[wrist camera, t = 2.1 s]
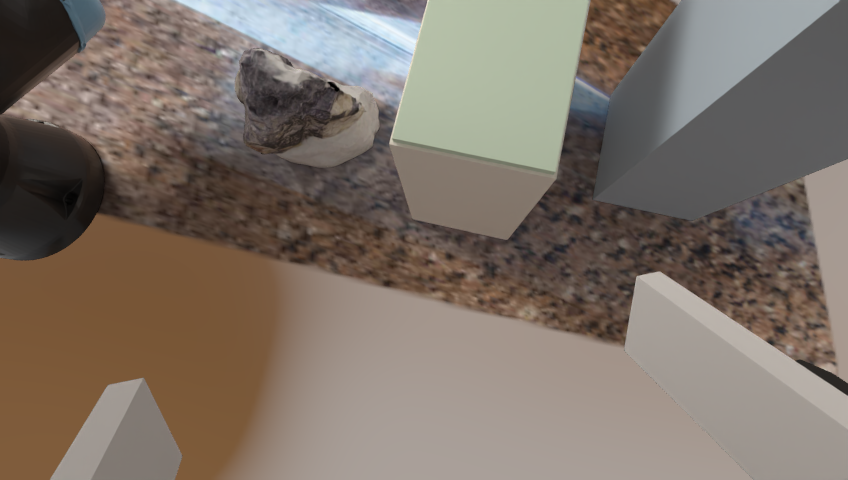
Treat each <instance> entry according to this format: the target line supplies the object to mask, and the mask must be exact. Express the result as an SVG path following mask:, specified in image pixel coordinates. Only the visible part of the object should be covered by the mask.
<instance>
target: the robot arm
mask: <svg viewBox="0 0 848 480" xmlns="http://www.w3.org/2000/svg"><path fill="white" fill-rule="evenodd" d="M104 23H105V11H104V8H103V6H102V4H101V2H100V1H99V0H0V258H6V259H13V260H35V259H40V258H44V257H48V256H50V255H53V254H55V253H57V252H59V251H61V250H62V249H64V248H66V247H67V246H69V245H70V244H71V243H73V242H74V241H75V240H76V239H77V238H79V236H81V235H82V233H83V232H84V231H85V230H86V229H87V227H88V226H89V225H90V223H91V222H92V220H93V219H94V217H95V215H96V213H97V211H98V209H99V206H100V203H101V200H102V196H103V190H104V173H103V168H102V164H101V161H100V159H99V157H98V155H97V153H96V152H95V150H94V149H93V147H92V146H91V145H90V144H89V143H88V142H87V141H86V140H85V139H83V138H82V137H80V136H79V135H77V134H75V133H73V132H71V131H69V130H67V129H65V128H63V127H61V126H59V125H56V124H53V123H50V122H46V121H41V120H35V119H22V118H17V117H12V116H8V115H4V114H2V113H4V112H5V111H6V110H7V109H8V108H10V107H11V106H12V105H13V104H14V103H15V102H17V101H18V100H19V99H20V98H22V97H23V96H24V95H25V94H27V93H28V92H29V91H30V90H32V89H33V88H34V87H35V86H37V85H38V84H39V83H40V82H42V81H43V80H44V79H45V78H47V77H48V76H49V75H50V74H52V73H53V72H54V71H55V70H57V69H58V68H59V67H60V66H61V65H63V64H64V63H65V62H66V61H68V60H69V59H70V58H71V57H73V56H74V55H75V54H76V53H80V52H81V51H83V50H84V48H85V46H86V43H87V42H88V41H89V40H90V39H91V38H92V37H93V36H94V35H95V34H96V33H97V32H98V31H99V30H100V29H101V28H102V27H103V25H104ZM624 351H625V352H626V353H627V354H628V355H629V356H630V357H631V358H632V359H633V360H634V361H635V362H636V363H637V364H638V365H639V366H640V367H641V368H642V369H643V370H644V371H645V372H646V373H647V374H648V375H649V376H650V377H651V378H652V379H653V380H654V381H655V382H656V383H657V384H658V385H659V386H660V387H661V388H662V389H663V390H664V391H665V392H666V393H667V394H668V395H669V396H670V397H671V398H672V399H673V400H674V401H675V402H676V403H677V404H678V405H679V406H680V407H681V408H682V409H683V410H684V411H685V412H686V413H687V414H688V415H689V416H690V417H691V418H692V419H693V420H694V421H695V422H696V423H697V424H698V425H699V426H700V427H701V428H702V429H703V430H704V431H705V432H706V433H707V434H708V435H709V436H710V437H711V438H712V439H713V440H714V441H715V442H716V443H717V444H718V445H719V446H720V447H721V448H722V449H723V450H724V451H725V452H726V453H727V454H728V455H729V456H730V457H731V458H732V459H733V460H734V461H735V462H736V463H737V464H738V465H739V466H740V467H741V468H742V469H743V470H744V471H745V472H746V473H747V474H748V475H749V476H750V477H751V478H752V479H753V480H848V383H846V382H845V381H843V380H842V379H840V378H839V377H837V376H836V375H834V374H832V373H831V372H828V371H826V370H824V369H821V368H819V367H817V366H814V365H812V364H810V363H807V362H805V361H803V360H796V361H794V360H793V359H791V358H790V357H788V356H787V355H785V354H784V353H782V352H781V351H779V350H778V349H776V348H775V347H773V346H772V345H770V344H769V343H767V342H766V341H764V340H763V339H761V338H760V337H758V336H757V335H755V334H753V333H752V332H750V331H749V330H747V329H746V328H744V327H743V326H741V325H740V324H738V323H737V322H735V321H734V320H732V319H731V318H729V317H728V316H726V315H725V314H723V313H722V312H720V311H719V310H717V309H716V308H714V307H713V306H711V305H710V304H708V303H707V302H705V301H704V300H702V299H701V298H699V297H698V296H696V295H695V294H693V293H692V292H690V291H689V290H687V289H686V288H684V287H683V286H681V285H680V284H678V283H676V282H675V281H673V280H672V279H670V278H669V277H667V276H666V275H664V274H663V273H661V272H660V271H659V272H654V273H649V274H645V275H640V276H636V282H635V288H634V294H633V300H632V306H631V312H630V318H629V323H628V329H627V335H626V341H625V347H624ZM181 459H182V454H181V452H180V451H179V448H178V446H177V444H176V442H175V440H174V438H173V436H172V434H171V432H170V430H169V428H168V426H167V424H166V422H165V420H164V418H163V416H162V414H161V412H160V410H159V408H158V406H157V404H156V402H155V400H154V398H153V396H152V394H151V391H150V389H149V387H148V385H147V384H146V381H145V379H144V378H140V379H135V380H130V381H126V382H120V383H116V384H111V385H108V386H107V387H106V389H105V391H104V393H103V394H102V396H101V397H100V399H99V401H98V402H97V404H96V405H95V407H94V409H93V410H92V412H91V414H90V415H89V417H88V418H87V420H86V422H85V423H84V425H83V427H82V428H81V430H80V432H79V433H78V435H77V436H76V438H75V440H74V441H73V443H72V445H71V446H70V448H69V450H68V451H67V453H66V454H65V456H64V458H63V459H62V461H61V463H60V464H59V466H58V468H57V469H56V471H55V472H54V474H53V476H52V477H51V479H50V480H175V477H176V474H177V471H178V468H179V465H180V461H181Z"/></svg>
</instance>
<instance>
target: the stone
mask: <svg viewBox="0 0 848 480" xmlns="http://www.w3.org/2000/svg"><path fill="white" fill-rule="evenodd" d="M239 64H240V70H239V71H238V73H237V76H236V80H235V92H236V94H237V97H238V99H239V100H240V102H241V103H243V104H244V105H245V129H244V143H245V144H246V146H248V147H250V148H252V149H254V150H256V151H258V152H261V154H270V153H271V154H273V153H274V154H275V155H277V156H279V157H281V158H282V159H286V160H288V161H289V162H293V163H297V164H305V165H309V166H313V167H319V168H324V167H325V168H329V167H334V166H337V165H340V164H342V163H344V162H346V161H348V160H351V159H353V158H354V157H357V156H359V155H360V154H362V153H364V152H366V151H367V150H368V149H370V148H371V147H372V146H373V141H374V137H375V134H376V133H377V131H378V129H379V128H380V124H379V119H378V115H379V108H377V105H376V102H375V100H374V98H373V94H372V93H371V92H369V91H366V90H365V89H364V88H361V87H359V86H342V85H340V84H338V83H336V82H334V81H331V80H328V79H324V78H321V77H319V76H317V75H314V74H312V73H311V72H308V71H306V70H301V69H295V68H294V67H293V66H292V64H291V62H289V61H288V59H286V58H284V57H282V56H280V55H278V54H275V53H272V52H270V51H268V50H264V49H261V48H253V49H250V50H247V51H244V52H243V55H242V57H241V59H240V60H239Z"/></svg>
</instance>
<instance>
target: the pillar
mask: <svg viewBox="0 0 848 480" xmlns="http://www.w3.org/2000/svg"><path fill="white" fill-rule="evenodd" d="M846 159H848V0H681V2H680V3H679V4H678V6H677V7H676V8H675V10H674V11H673V12H672V14H671V15H670V16H669V18H668V19H667V20H666V22H665V23H664V24H663V26H662V27H661V28H660V30H659V31H658V32H657V34H656V35H655V37H654V38H653V39H652V41H651V42H650V43H649V45H648V46H647V47H646V49H645V50H644V51H643V53H642V54H641V55H640V57H639V58H638V59H637V61H636V62H635V63H634V65H633V66H632V67H631V69H630V70H629V71H628V73H627V74H626V75H625V77H624V78H623V79H622V81H621V82H620V83H619V85H618V86H617V87H616V89H615V90H614V92H613V93H612V94H611V96H610V102H609V108H608V114H607V119H606V125H605V131H604V137H603V142H602V148H601V154H600V160H599V165H598V171H597V177H596V183H595V188H594V194H593V200H596V201H600V202H605V203H610V204H615V205H619V206H624V207H629V208H634V209H638V210H643V211H648V212H653V213H657V214H662V215H667V216H672V217H676V218H681V219H686V220H691V221H693V220H695V219H698V218H701V217H703V216H706V215H708V214H711V213H713V212H716V211H718V210H721V209H723V208H726V207H728V206H731V205H733V204H736V203H738V202H741V201H743V200H746V199H748V198H751V197H753V196H756V195H758V194H761V193H763V192H766V191H768V190H771V189H773V188H776V187H778V186H781V185H783V184H786V183H789V182H791V181H794V180H796V179H799V178H801V177H804V176H806V175H809V174H811V173H814V172H816V171H819V170H821V169H823V168H826V167H829V166H831V165H834V164H836V163H839V162H841V161H844V160H846Z"/></svg>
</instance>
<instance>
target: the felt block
mask: <svg viewBox="0 0 848 480" xmlns="http://www.w3.org/2000/svg"><path fill="white" fill-rule="evenodd" d="M589 5H590V0H428V1H427V5H426V9H425V12H424V16H423V20H422V23H421V27H420V31H419V35H418V38H417V42H416V46H415V49H414V53H413V57H412V61H411V64H410V68H409V72H408V76H407V79H406V83H405V87H404V90H403V94H402V98H401V102H400V105H399V109H398V113H397V116H396V120H395V124H394V128H393V131H392V135H391V139H390V142H389V146H390V149H391V152H392V155H393V159H394V162H395V165H396V168H397V171H398V175H399V178H400V181H401V184H402V188H403V191H404V194H405V197H406V200H407V204H408V207H409V210H410V213H411V217H412V219H414V220H418V221H423V222H427V223H432V224H436V225H441V226H445V227H450V228H454V229H459V230H463V231H468V232H472V233H477V234H481V235H486V236H490V237H495V238H499V239H504V240H508V239H509V237H510V236H511V235H512V234H513V232H514V231H515V230H516V229H517V227H518V226H519V225H520V224H521V222H522V221H523V220H524V219H525V217H526V216H527V215H528V214H529V212H530V211H531V210H532V209H533V207H534V206H535V205H536V204H537V202H538V201H539V200H540V199H541V197H542V196H543V195H544V194H545V192H546V191H547V190H548V189H549V187H550V186H551V185H552V184H553V182H554V181H555V180H556V178H557V172H558V167H559V162H560V157H561V152H562V146H563V141H564V136H565V131H566V125H567V120H568V115H569V110H570V104H571V99H572V94H573V89H574V84H575V78H576V73H577V68H578V63H579V57H580V52H581V47H582V42H583V36H584V31H585V26H586V21H587V16H588V10H589Z"/></svg>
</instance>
